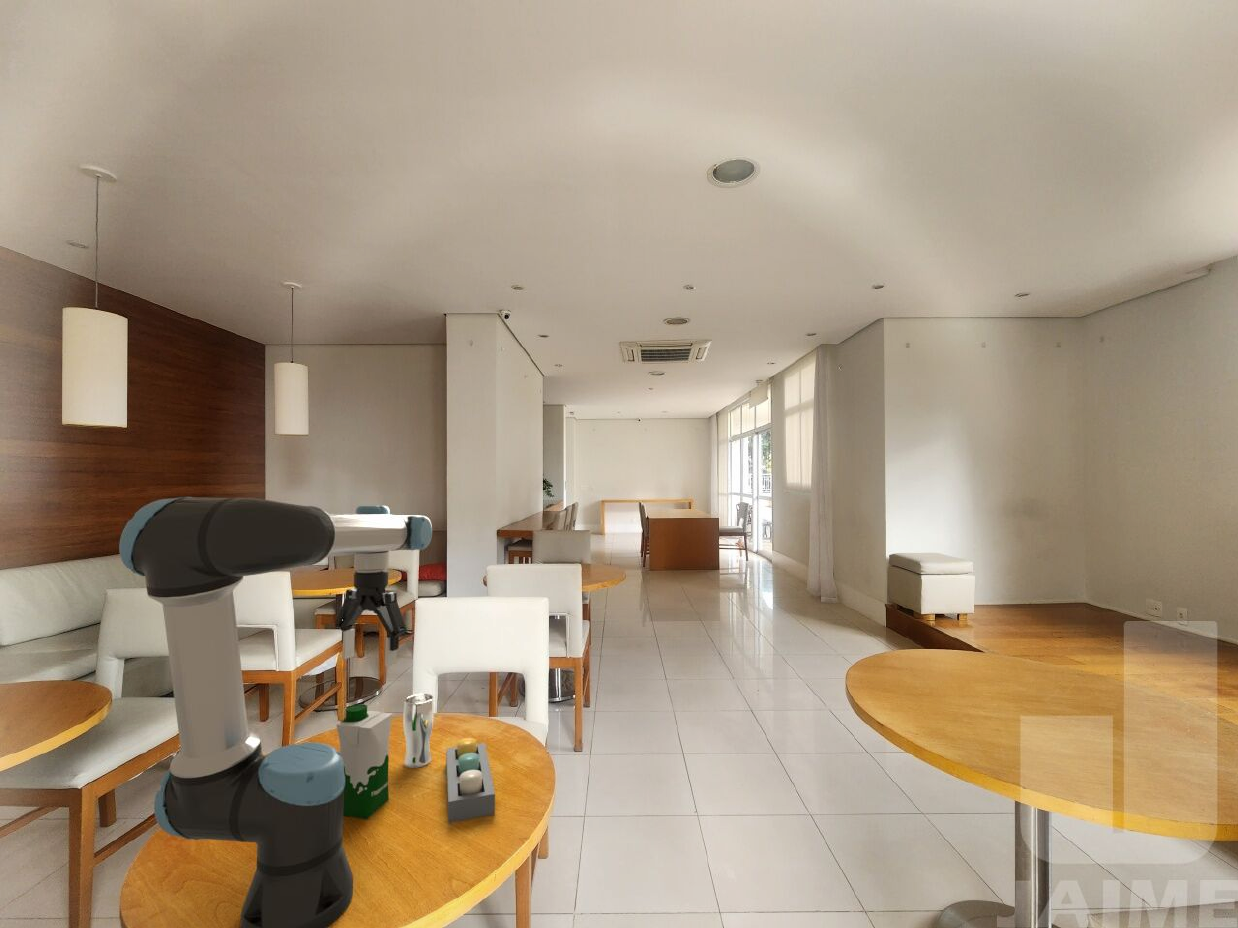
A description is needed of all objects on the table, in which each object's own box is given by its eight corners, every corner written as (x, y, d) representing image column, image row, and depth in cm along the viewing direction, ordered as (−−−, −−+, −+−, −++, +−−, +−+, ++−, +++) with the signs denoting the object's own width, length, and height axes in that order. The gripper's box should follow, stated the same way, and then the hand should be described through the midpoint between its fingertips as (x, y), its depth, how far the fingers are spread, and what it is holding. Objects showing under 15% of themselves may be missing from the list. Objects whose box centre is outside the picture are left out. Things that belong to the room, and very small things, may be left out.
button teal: (479, 776, 119) (479, 760, 119) (458, 779, 118) (458, 763, 118) (478, 766, 123) (478, 751, 123) (457, 769, 122) (458, 754, 122)
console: (494, 814, 110) (495, 793, 111) (448, 822, 107) (448, 801, 108) (484, 759, 133) (485, 742, 133) (446, 765, 130) (446, 748, 130)
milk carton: (358, 793, 118) (360, 699, 119) (395, 798, 116) (397, 702, 117) (328, 817, 109) (331, 715, 110) (369, 822, 108) (371, 718, 109)
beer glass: (437, 755, 135) (438, 693, 136) (425, 769, 128) (426, 704, 129) (410, 754, 136) (412, 692, 137) (396, 768, 129) (398, 703, 130)
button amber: (477, 759, 127) (477, 744, 127) (457, 762, 125) (457, 747, 125) (475, 750, 131) (476, 736, 131) (456, 753, 129) (456, 739, 130)
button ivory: (482, 795, 111) (482, 778, 112) (460, 798, 110) (460, 782, 110) (480, 784, 116) (481, 768, 116) (459, 787, 114) (459, 771, 114)
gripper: (423, 571, 129) (421, 662, 128) (347, 565, 139) (344, 650, 137) (399, 575, 122) (396, 672, 121) (320, 569, 132) (317, 658, 131)
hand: (369, 661), depth 129 cm, fingers open, 13 cm apart
